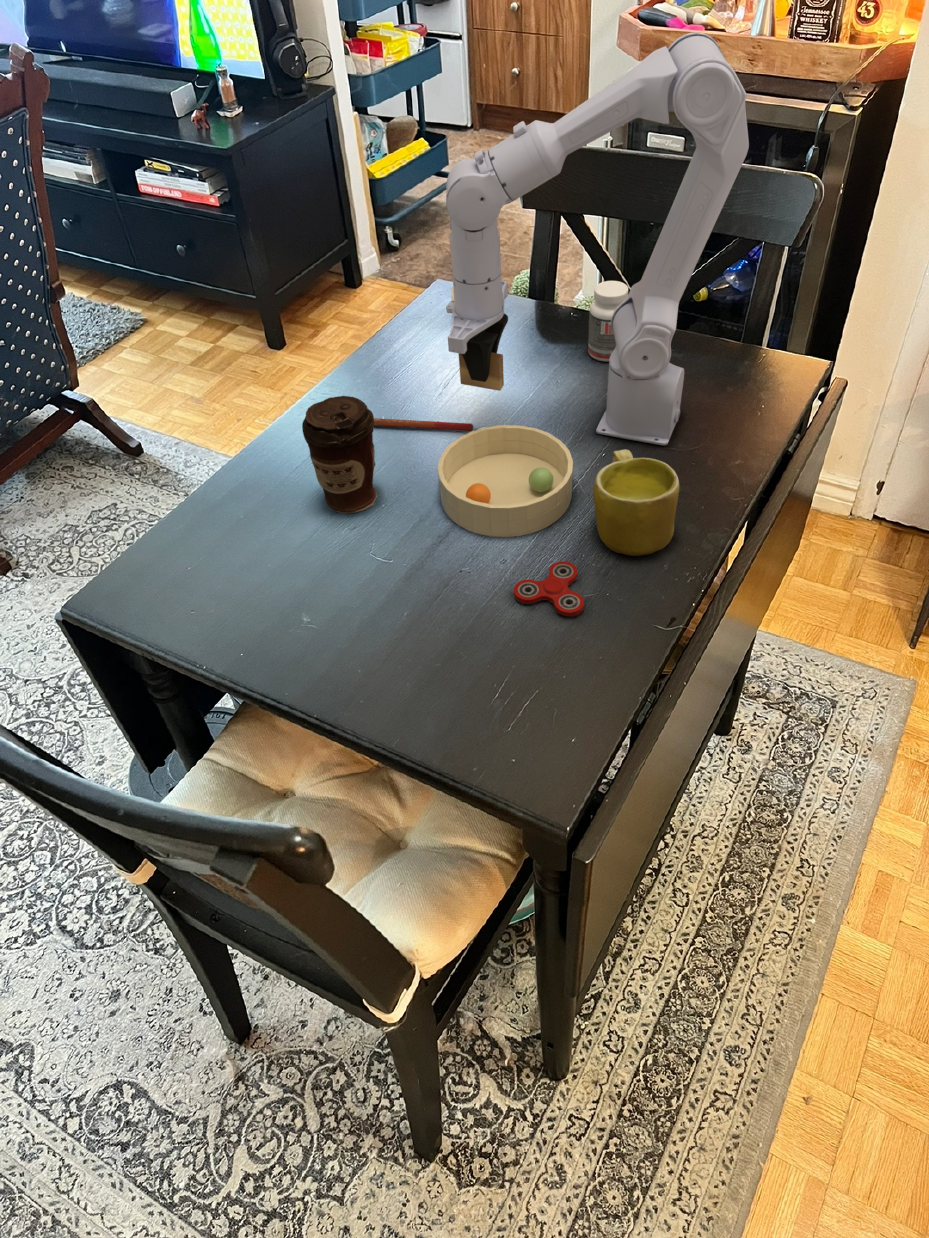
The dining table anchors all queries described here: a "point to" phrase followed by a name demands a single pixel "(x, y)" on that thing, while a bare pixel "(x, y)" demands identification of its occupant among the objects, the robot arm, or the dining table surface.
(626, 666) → the dining table surface
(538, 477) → the green bead
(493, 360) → the brown block
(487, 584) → the dining table surface
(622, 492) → the mug
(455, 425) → the pencil
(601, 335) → the pill bottle
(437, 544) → the dining table surface
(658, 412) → the robot arm
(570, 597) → the fidget spinner
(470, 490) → the orange bead
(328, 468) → the coffee cup
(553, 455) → the bowl
